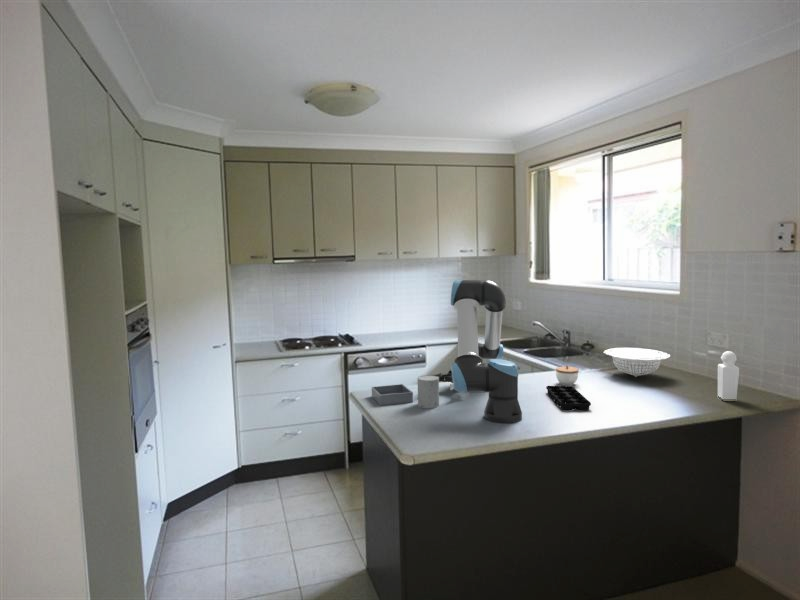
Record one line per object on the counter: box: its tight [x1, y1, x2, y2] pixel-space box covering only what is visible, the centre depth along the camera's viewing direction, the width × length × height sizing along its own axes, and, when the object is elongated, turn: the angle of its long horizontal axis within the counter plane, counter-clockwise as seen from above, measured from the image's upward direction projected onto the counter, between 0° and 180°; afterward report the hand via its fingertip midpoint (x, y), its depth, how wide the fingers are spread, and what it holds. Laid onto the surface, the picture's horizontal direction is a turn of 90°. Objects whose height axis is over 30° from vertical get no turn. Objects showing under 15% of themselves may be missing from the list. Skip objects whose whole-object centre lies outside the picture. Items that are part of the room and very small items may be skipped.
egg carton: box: [545, 385, 592, 412], centre depth 237 cm, size 18×30×4 cm, turn 10°
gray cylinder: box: [416, 374, 440, 409], centre depth 233 cm, size 10×10×12 cm
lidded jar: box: [555, 365, 579, 386], centre depth 266 cm, size 11×11×9 cm
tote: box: [371, 383, 414, 406], centre depth 243 cm, size 15×15×4 cm
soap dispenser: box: [717, 350, 740, 400], centre depth 234 cm, size 6×6×22 cm
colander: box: [603, 347, 671, 378], centre depth 277 cm, size 32×32×13 cm
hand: (437, 385), depth 241 cm, fingers open, 13 cm apart
